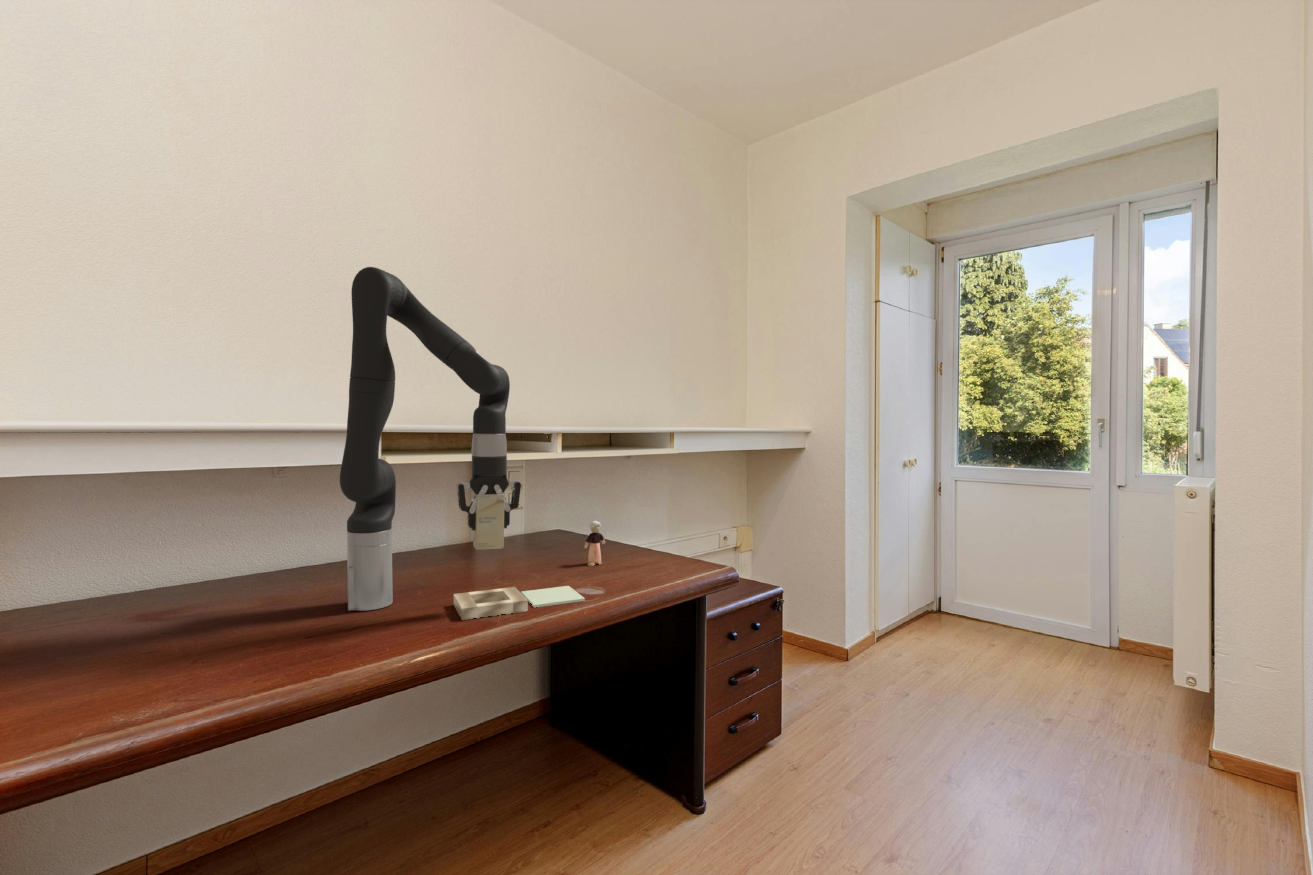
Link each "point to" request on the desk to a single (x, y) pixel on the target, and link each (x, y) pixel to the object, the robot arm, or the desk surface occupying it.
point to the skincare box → (489, 521)
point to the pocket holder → (490, 603)
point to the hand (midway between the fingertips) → (489, 528)
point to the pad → (552, 596)
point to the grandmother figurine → (594, 544)
